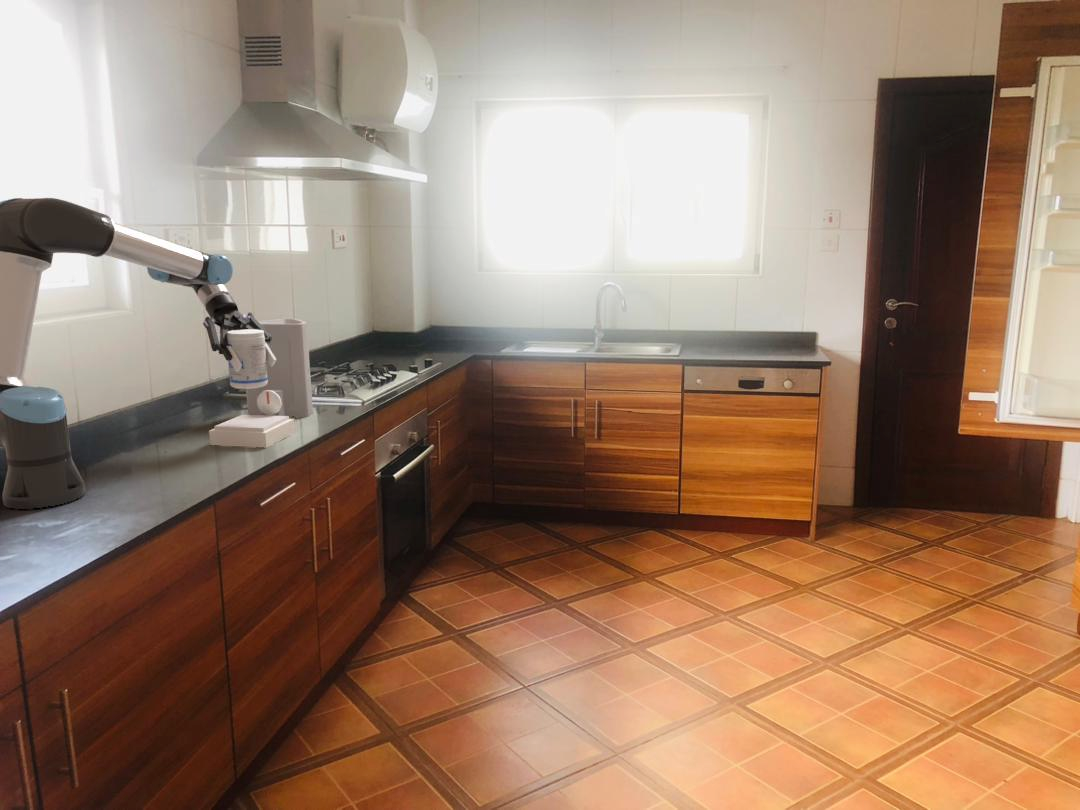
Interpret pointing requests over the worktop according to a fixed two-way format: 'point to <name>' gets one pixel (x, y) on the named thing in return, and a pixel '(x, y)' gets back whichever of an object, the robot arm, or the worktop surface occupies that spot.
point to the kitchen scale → (256, 424)
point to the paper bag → (287, 368)
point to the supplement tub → (248, 358)
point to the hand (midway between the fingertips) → (256, 365)
